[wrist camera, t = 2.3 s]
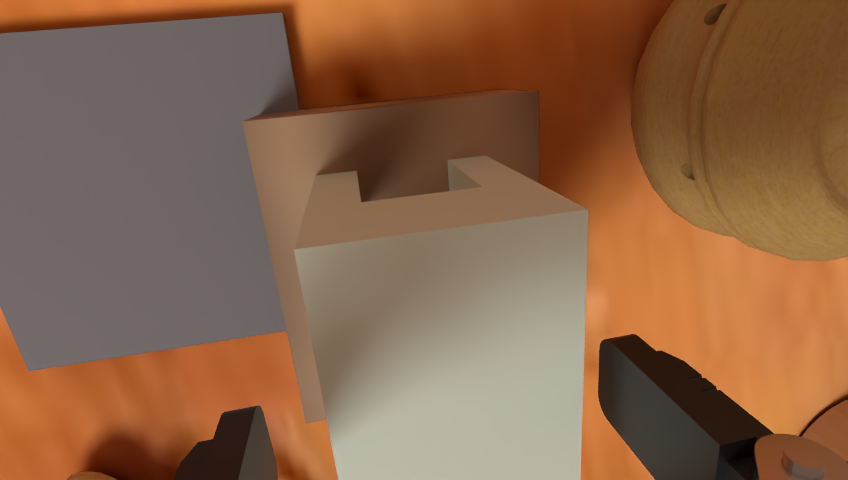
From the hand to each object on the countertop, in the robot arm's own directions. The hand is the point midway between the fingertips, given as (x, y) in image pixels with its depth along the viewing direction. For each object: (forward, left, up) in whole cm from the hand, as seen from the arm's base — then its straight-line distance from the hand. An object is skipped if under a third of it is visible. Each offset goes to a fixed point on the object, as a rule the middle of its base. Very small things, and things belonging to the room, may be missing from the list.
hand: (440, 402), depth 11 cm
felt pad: (+10, -3, -11) cm, 15 cm away
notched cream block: (0, 0, -7) cm, 7 cm away
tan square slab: (0, 0, -11) cm, 11 cm away
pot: (-15, -5, -12) cm, 20 cm away
